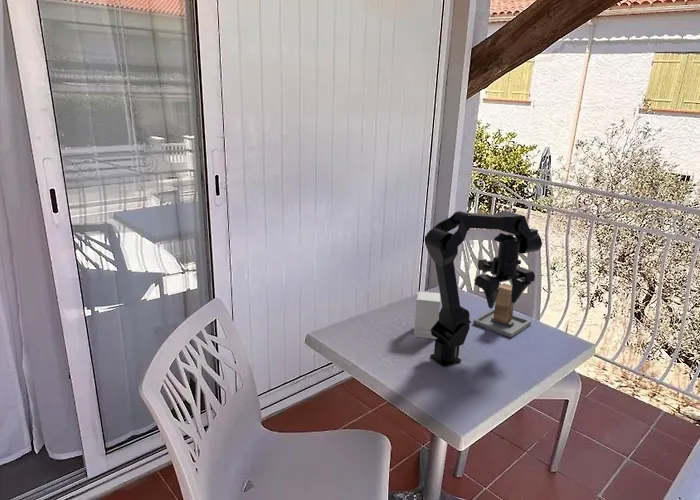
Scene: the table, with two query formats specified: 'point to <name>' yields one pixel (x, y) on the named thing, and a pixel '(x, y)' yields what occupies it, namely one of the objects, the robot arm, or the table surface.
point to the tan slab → (504, 306)
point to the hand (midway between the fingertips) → (501, 305)
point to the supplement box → (426, 313)
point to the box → (499, 328)
